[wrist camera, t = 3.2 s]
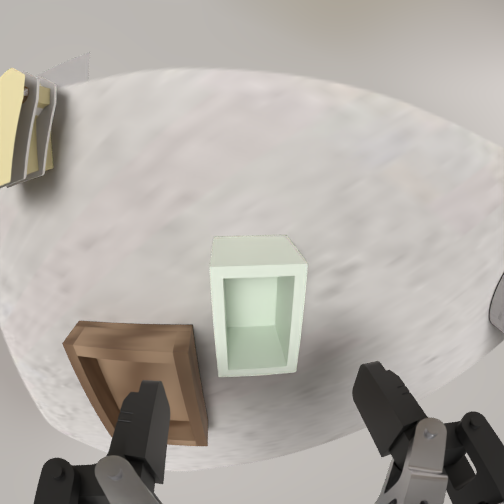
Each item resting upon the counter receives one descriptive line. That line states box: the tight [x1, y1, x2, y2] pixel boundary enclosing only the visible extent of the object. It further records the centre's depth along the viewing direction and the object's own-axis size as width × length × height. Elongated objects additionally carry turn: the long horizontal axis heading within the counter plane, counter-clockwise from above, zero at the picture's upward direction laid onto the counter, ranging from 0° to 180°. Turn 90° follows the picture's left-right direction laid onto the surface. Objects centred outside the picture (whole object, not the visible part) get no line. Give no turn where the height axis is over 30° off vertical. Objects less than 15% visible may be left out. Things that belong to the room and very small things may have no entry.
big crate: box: [62, 321, 208, 446], centre depth 19 cm, size 10×12×3 cm
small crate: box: [209, 235, 308, 377], centre depth 16 cm, size 5×7×5 cm, turn 0°
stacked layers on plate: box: [0, 52, 90, 188], centre depth 11 cm, size 10×9×6 cm
